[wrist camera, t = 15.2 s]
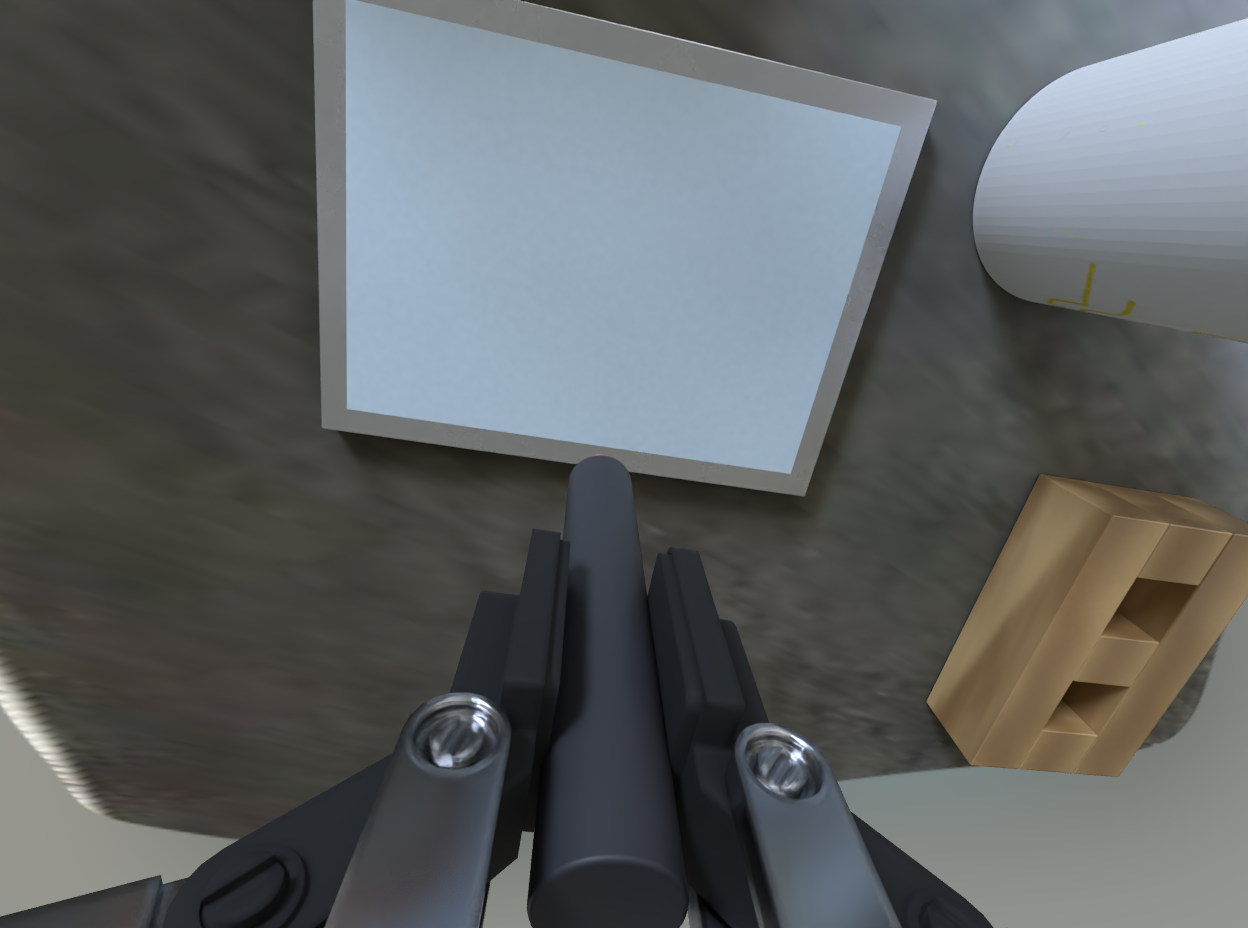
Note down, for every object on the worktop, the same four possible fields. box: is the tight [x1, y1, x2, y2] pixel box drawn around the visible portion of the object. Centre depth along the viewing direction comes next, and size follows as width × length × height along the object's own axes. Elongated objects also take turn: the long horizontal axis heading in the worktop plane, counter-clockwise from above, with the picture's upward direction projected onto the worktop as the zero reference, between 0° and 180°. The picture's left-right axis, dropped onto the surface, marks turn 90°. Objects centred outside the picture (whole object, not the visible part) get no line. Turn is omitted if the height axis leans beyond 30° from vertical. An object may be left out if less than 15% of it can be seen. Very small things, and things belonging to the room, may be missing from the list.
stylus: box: [527, 454, 689, 928], centre depth 12 cm, size 2×2×12 cm
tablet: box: [312, 0, 937, 497], centre depth 21 cm, size 20×15×1 cm
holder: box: [926, 474, 1248, 777], centre depth 28 cm, size 8×14×4 cm, turn 170°
